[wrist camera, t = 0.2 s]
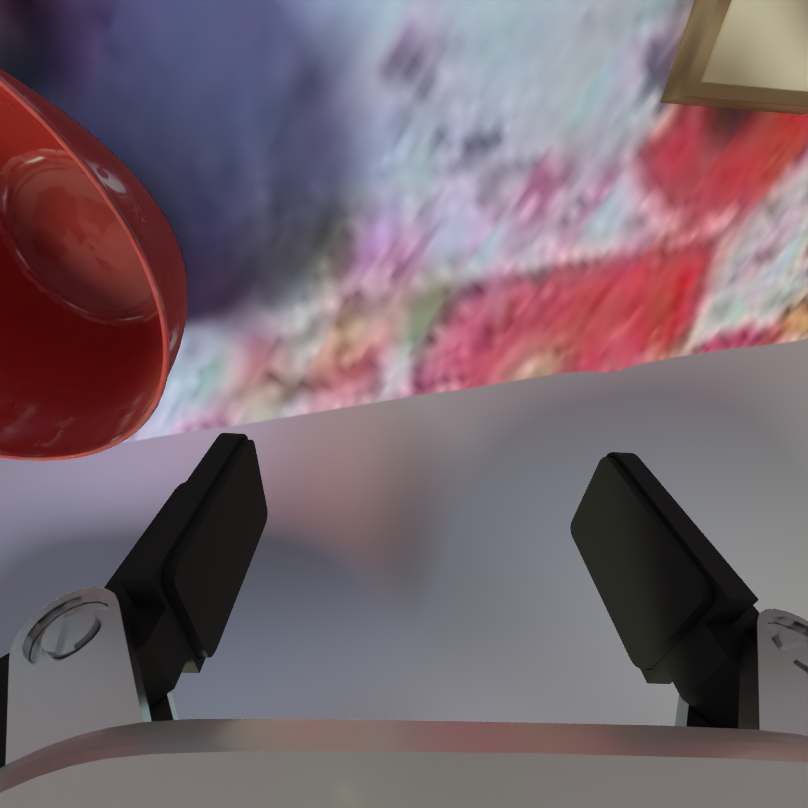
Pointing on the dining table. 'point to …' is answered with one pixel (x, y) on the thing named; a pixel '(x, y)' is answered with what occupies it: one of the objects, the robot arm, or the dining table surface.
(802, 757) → the robot arm
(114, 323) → the mixing bowl
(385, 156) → the dining table surface
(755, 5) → the plinth
